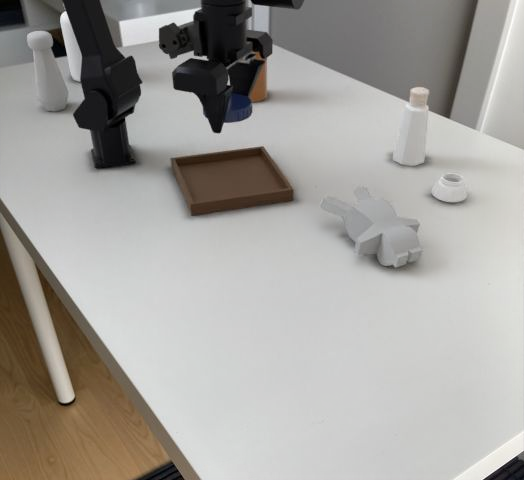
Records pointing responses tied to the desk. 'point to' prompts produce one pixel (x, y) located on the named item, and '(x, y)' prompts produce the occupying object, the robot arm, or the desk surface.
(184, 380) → the desk surface
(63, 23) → the pill bottle
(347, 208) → the bunny figurine
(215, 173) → the tray
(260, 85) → the jar
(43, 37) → the salt shaker
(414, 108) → the pepper shaker
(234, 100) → the lid
